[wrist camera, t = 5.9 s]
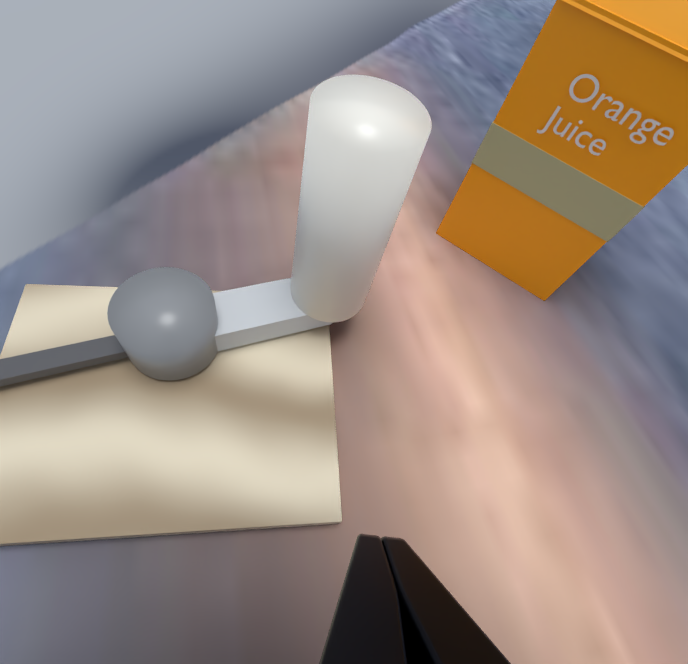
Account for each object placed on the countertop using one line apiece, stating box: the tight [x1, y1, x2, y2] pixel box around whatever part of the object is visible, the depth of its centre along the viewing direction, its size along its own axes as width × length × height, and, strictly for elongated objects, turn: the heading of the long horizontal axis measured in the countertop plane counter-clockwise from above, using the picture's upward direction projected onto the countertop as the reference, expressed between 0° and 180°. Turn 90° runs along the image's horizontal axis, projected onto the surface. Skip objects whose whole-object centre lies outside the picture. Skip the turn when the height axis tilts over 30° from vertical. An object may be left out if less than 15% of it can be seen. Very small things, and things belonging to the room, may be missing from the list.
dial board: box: [0, 284, 342, 546], centre depth 20 cm, size 12×19×1 cm, turn 94°
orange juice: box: [436, 0, 688, 301], centre depth 22 cm, size 8×9×20 cm
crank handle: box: [0, 75, 431, 387], centre depth 16 cm, size 19×4×12 cm, turn 111°
